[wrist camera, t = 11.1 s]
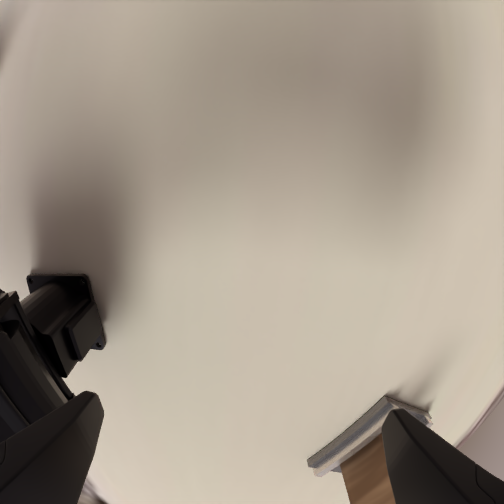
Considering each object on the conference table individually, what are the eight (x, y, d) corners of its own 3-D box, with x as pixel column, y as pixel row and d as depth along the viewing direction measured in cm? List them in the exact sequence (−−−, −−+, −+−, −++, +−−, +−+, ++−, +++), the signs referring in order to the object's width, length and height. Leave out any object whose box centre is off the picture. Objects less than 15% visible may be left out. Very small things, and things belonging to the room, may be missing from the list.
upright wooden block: (339, 462, 26) (361, 547, 15) (377, 433, 25) (412, 522, 13) (359, 465, 27) (384, 543, 15) (395, 437, 25) (431, 518, 14)
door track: (358, 469, 29) (362, 481, 27) (307, 460, 27) (310, 474, 25) (428, 412, 26) (435, 424, 24) (384, 395, 24) (392, 410, 22)
